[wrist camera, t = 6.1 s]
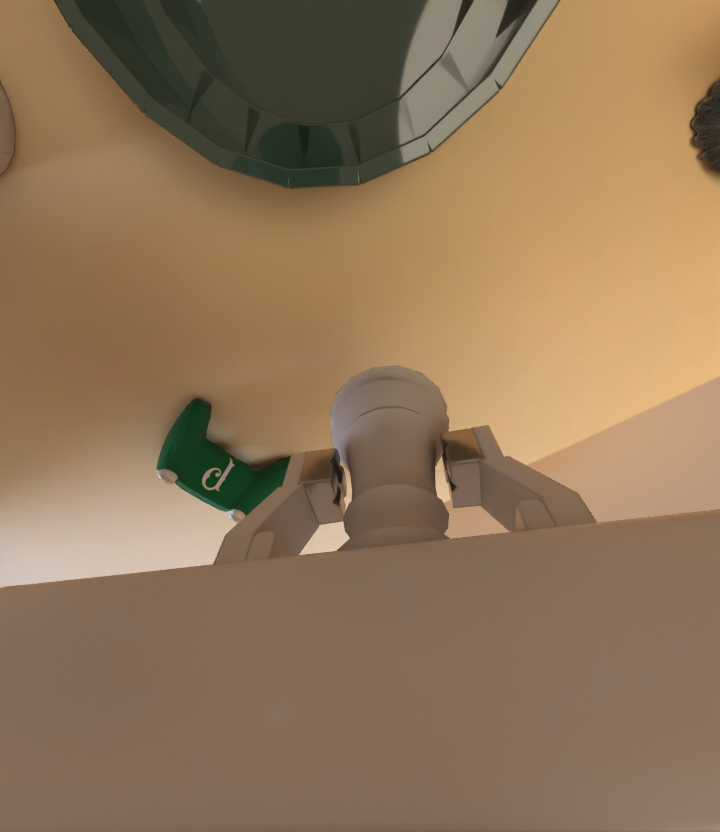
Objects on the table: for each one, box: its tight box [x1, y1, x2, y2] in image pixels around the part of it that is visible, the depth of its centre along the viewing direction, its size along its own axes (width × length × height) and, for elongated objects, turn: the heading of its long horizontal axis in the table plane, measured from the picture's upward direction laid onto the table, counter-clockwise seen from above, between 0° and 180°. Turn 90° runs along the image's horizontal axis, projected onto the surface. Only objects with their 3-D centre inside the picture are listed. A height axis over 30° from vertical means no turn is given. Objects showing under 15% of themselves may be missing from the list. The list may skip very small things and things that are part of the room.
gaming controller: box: [157, 398, 290, 523], centre depth 27 cm, size 9×4×6 cm
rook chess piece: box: [330, 366, 450, 551], centre depth 11 cm, size 4×4×8 cm
